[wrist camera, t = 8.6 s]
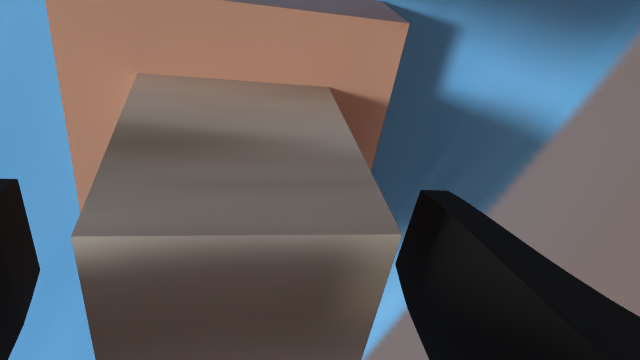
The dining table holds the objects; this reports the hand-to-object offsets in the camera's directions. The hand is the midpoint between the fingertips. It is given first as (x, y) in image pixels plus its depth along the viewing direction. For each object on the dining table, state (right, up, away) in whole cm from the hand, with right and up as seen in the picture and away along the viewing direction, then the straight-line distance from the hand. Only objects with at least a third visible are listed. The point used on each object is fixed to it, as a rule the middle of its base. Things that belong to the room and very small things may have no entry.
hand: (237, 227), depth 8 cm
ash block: (-1, +1, +2) cm, 3 cm away
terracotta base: (-1, +3, +4) cm, 5 cm away
